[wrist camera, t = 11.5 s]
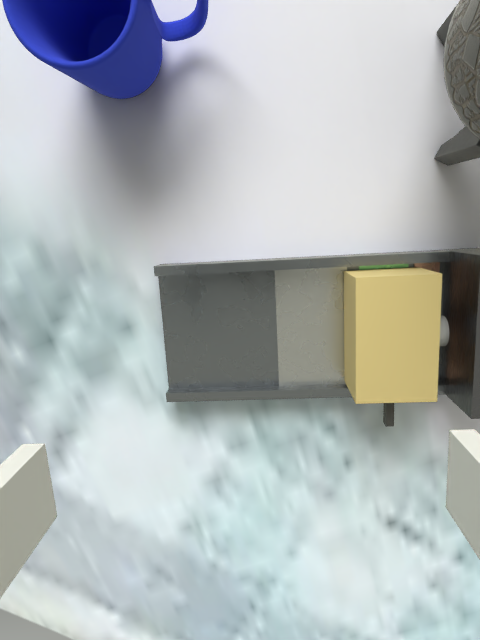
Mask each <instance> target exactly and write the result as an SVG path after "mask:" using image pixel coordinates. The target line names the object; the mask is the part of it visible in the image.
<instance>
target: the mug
mask: <svg viewBox="0 0 480 640" xmlns="http://www.w3.org/2000/svg"><path fill="white" fill-rule="evenodd" d="M2 1H3V6H4V10H5V13H6V16H7V19H8V21H9V23H10V26H11V28H12V30H13V31H14V33H15V35H16V36H17V38H18V39H19V41H20V42H21V43H22V44H23V45H24V46H25V48H26V49H27V50H28V51H29V52H31V53H32V54H33V55H34V56H35V57H37V58H38V59H40V60H41V61H43V62H45V63H46V64H48V65H50V66H52V67H53V68H55V69H57V70H59V71H61V72H62V73H64V74H66V75H68V76H70V77H71V78H73V79H75V80H77V81H79V82H80V83H82V84H84V85H86V86H88V87H89V88H91V89H93V90H95V91H97V92H98V93H100V94H102V95H105V96H107V97H111V98H117V99H125V98H131V97H134V96H137V95H139V94H141V93H142V92H144V91H145V90H146V89H148V88H149V87H150V85H151V84H152V83H153V82H154V80H155V79H156V77H157V75H158V73H159V70H160V67H161V61H162V38H163V39H164V40H166V41H179V40H184V39H187V38H190V37H192V36H194V35H196V34H197V33H198V32H200V31H201V29H202V28H203V27H204V25H205V22H206V19H207V14H208V0H197V5H196V8H195V10H194V11H193V13H191V14H190V15H189V16H187V17H186V18H184V19H181V20H178V21H174V22H162V21H161V20H160V19H159V18H158V16H157V13H156V11H155V8H154V6H153V3H152V1H151V0H2Z"/></svg>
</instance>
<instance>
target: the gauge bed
mask: <svg viewBox="0 0 480 640" xmlns="http://www.w3.org/2000/svg"><path fill="white" fill-rule="evenodd" d="M451 250H452V251H470V250H480V248H470V250H468V249H451ZM452 251H448V250H431V251H411V252H392V253H372V254H353V255H333V256H314V257H294V258H274V259H255V260H235V261H216V262H196V263H177V264H160V265H157V266H154V273H155V276H159V287H160V298H161V308H162V319H163V330H164V340H165V351H166V362H167V372H168V383H169V389H168V391H167V393H166V399H167V402H182V401H219V400H255V399H291V398H328V397H352V395H351V393H350V391H349V389H348V387H347V385H346V383H345V381H344V271H352V270H372V269H393V268H414V267H419V268H423V269H427V270H430V271H434V272H438V273H442V295H441V316H443V302H444V278H445V262H451V256H452ZM441 350H442V346H440V347H439V368H438V393H437V394H445V390H446V385H445V384H444V383H443V382H441V381H440V374H441Z"/></svg>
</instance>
